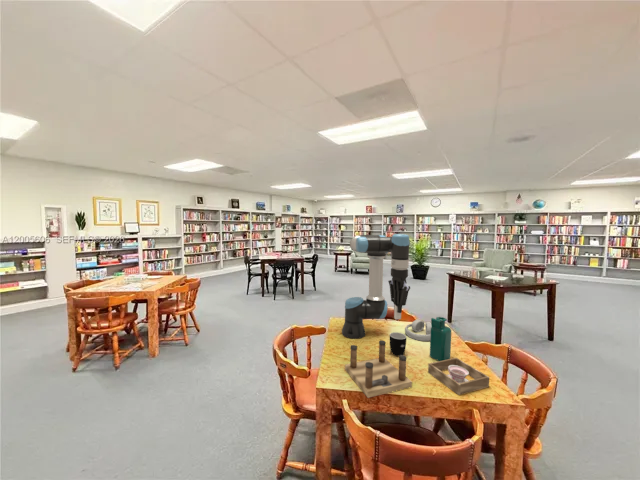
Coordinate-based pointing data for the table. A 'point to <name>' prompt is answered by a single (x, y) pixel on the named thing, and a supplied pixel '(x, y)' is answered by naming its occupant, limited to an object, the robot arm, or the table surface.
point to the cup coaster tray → (458, 388)
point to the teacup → (458, 373)
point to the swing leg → (369, 377)
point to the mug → (397, 343)
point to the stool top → (376, 373)
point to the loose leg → (402, 367)
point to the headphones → (418, 327)
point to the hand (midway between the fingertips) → (397, 318)
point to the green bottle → (440, 339)
